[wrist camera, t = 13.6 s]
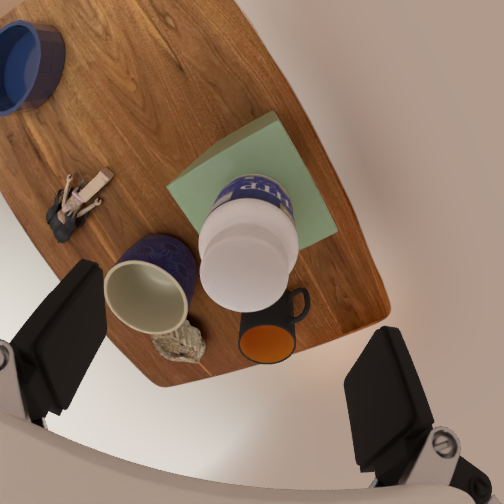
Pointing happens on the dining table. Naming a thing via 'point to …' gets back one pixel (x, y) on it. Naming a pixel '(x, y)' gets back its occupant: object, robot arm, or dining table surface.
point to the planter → (152, 284)
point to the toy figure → (74, 205)
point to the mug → (271, 330)
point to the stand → (254, 162)
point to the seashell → (181, 344)
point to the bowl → (29, 65)
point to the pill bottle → (248, 244)
